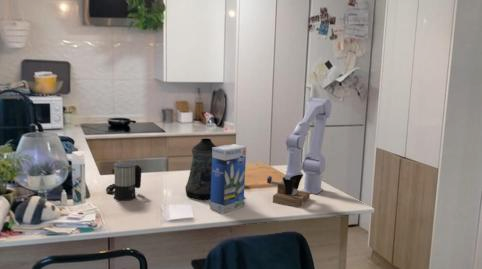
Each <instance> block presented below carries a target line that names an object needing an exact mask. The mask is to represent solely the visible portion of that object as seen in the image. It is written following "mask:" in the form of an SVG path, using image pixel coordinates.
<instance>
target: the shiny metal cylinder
mask: <svg viewBox="0 0 482 269" xmlns="http://www.w3.org/2000/svg"><path fill="white" fill-rule="evenodd" d="M288 195H290V194H288ZM296 195H297V188H293V190H292V194H291V196H296Z"/></svg>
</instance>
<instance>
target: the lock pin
mask: <svg viewBox="0 0 482 269" xmlns="http://www.w3.org/2000/svg"><path fill="white" fill-rule="evenodd" d="M272 178H273V176H271V175H269V176H268V175H267V177H266V182H267V184H270V185H274V186H278V183H281V184H284V183H282V182H281V181H275V180H272Z"/></svg>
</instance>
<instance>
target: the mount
mask: <svg viewBox="0 0 482 269" xmlns="http://www.w3.org/2000/svg"><path fill="white" fill-rule="evenodd" d="M280 182H282V183H284V182H283V180H282V181H281V180H280ZM310 195H311V193H310V192H305V191H301V190H300V189H299V190H297V195H296V196H291V195H288V194H286V188H285V184H281V183H278V185H277V192H276V193H275V194H273V195H272V203H276V204H280V203H281V204H280V205H285V204H287V206H290V205H292V206H291V207H296V206H297V207H296V208H300V207H301V206H302V205H304V204H305V203H306V202H307V201H308V200H310V198H311V196H310ZM303 203H304V204H303ZM299 206H300V207H299Z"/></svg>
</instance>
